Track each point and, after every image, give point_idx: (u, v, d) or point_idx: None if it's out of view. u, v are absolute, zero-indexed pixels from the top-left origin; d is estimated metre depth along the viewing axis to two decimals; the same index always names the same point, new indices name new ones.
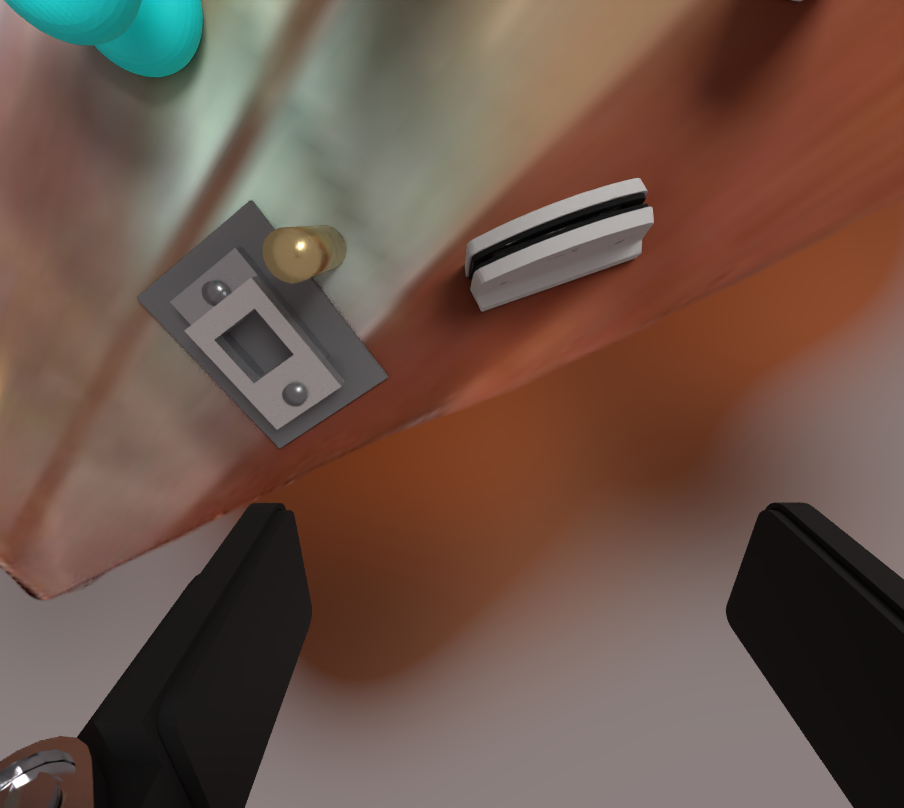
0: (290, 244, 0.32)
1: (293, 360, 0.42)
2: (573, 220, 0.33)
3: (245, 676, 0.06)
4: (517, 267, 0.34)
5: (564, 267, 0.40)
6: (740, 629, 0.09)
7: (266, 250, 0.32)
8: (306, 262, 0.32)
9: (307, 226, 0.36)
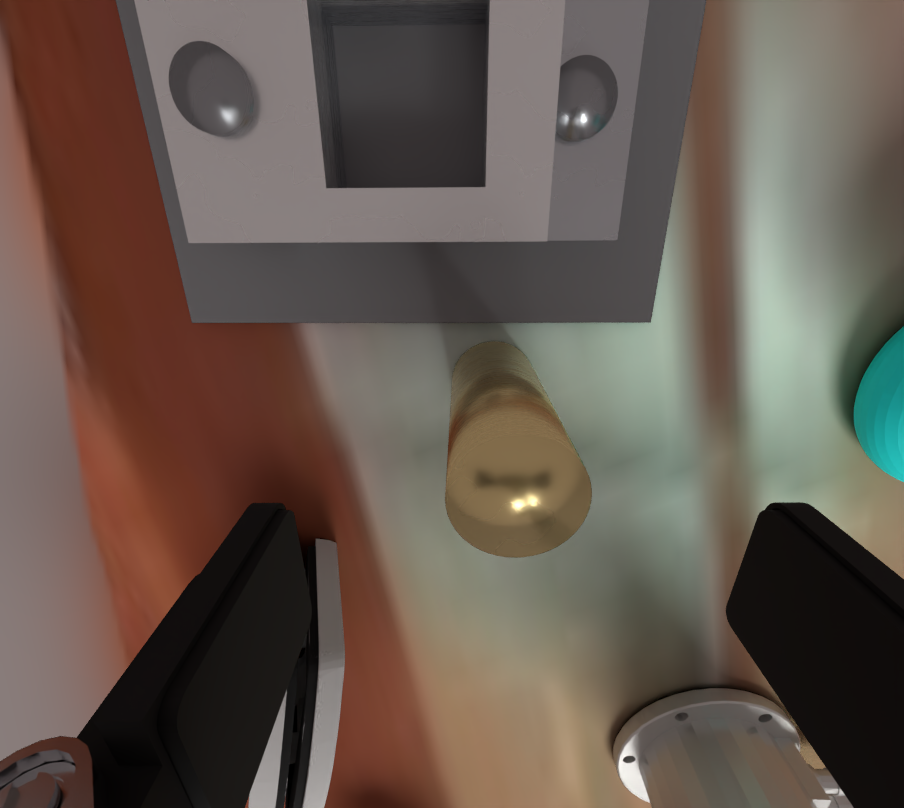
0: (537, 518, 0.12)
1: (312, 173, 0.14)
2: (293, 792, 0.21)
3: (245, 676, 0.06)
4: None
5: None
6: (740, 629, 0.09)
7: (567, 463, 0.11)
8: (478, 522, 0.12)
9: None
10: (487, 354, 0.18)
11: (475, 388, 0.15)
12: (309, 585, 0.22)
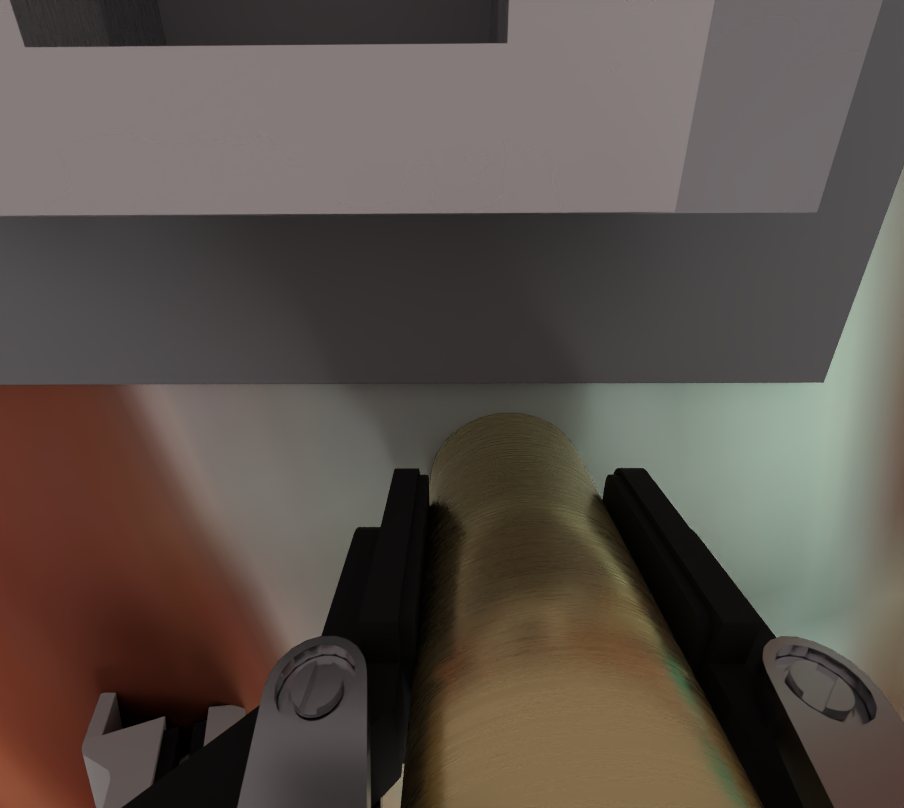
0: None
1: None
2: None
3: None
4: None
5: None
6: None
7: None
8: None
9: None
10: (500, 461, 0.08)
11: (478, 626, 0.05)
12: None
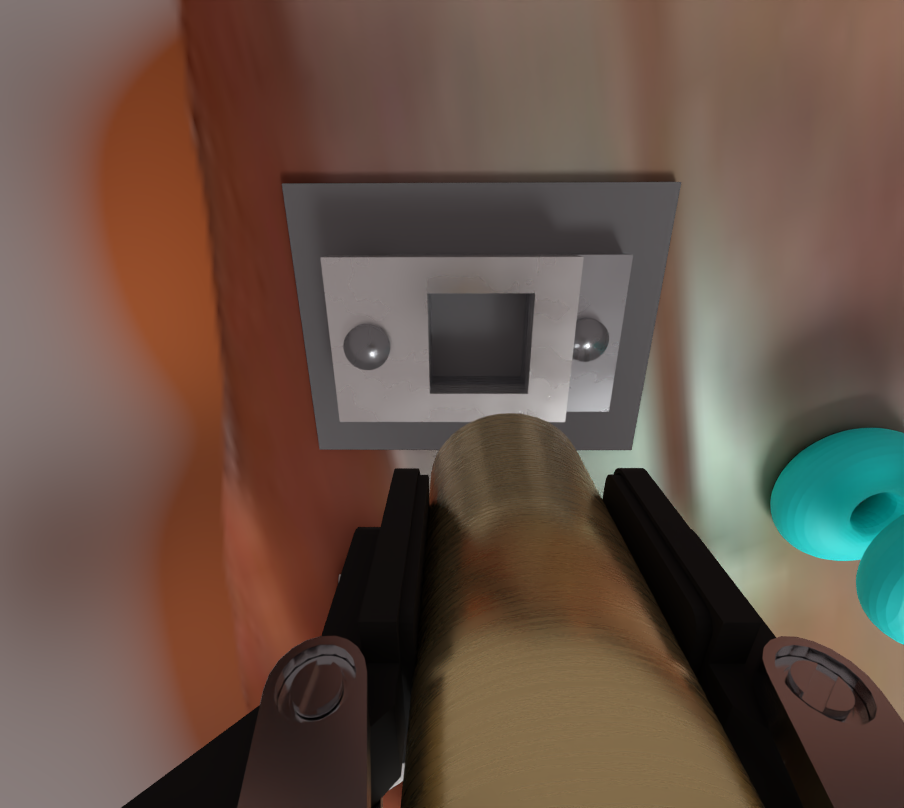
0: None
1: (422, 386, 0.24)
2: None
3: None
4: None
5: None
6: None
7: None
8: None
9: None
10: (500, 461, 0.08)
11: (479, 627, 0.05)
12: None
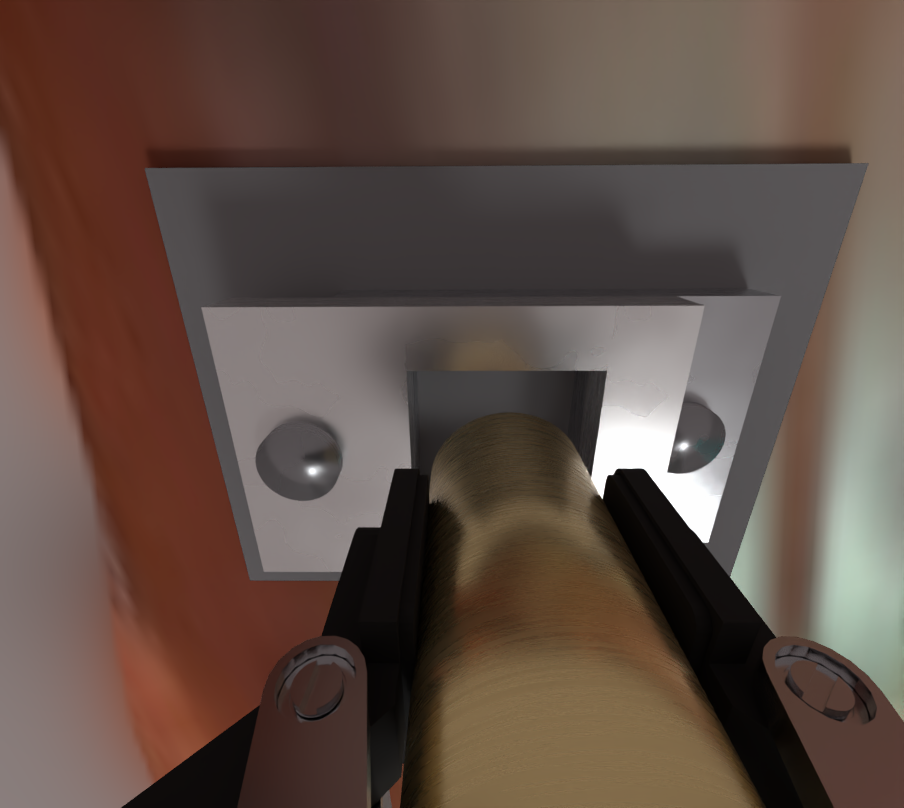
0: None
1: None
2: None
3: None
4: None
5: None
6: None
7: None
8: None
9: None
10: (501, 461, 0.08)
11: (479, 626, 0.05)
12: None
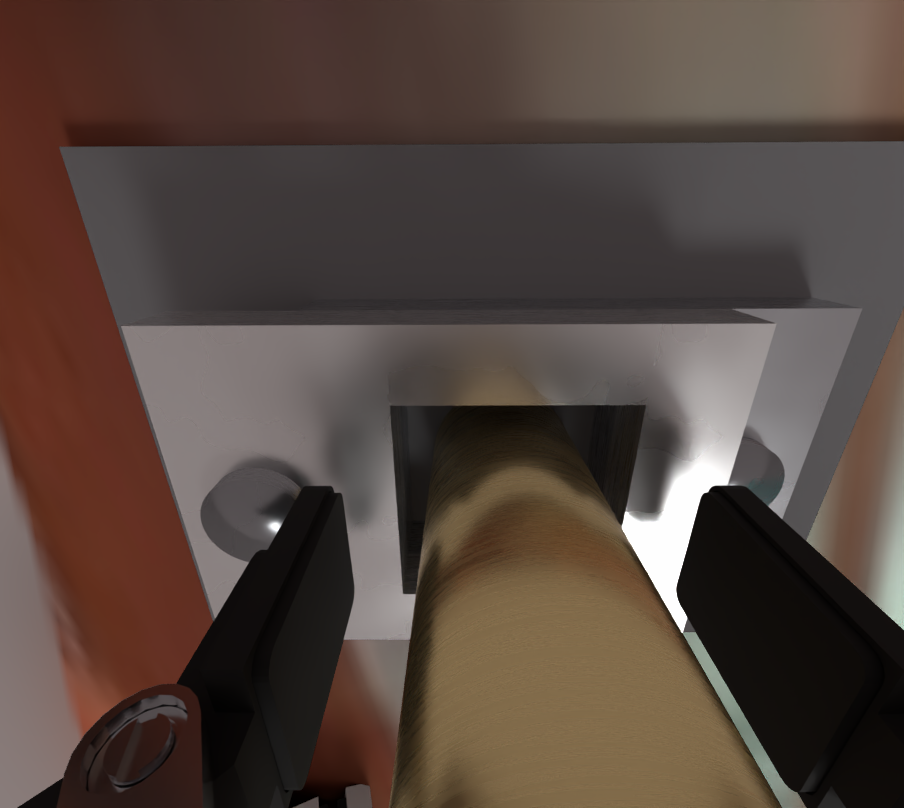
0: None
1: (386, 581, 0.11)
2: None
3: (311, 641, 0.07)
4: None
5: None
6: (687, 606, 0.09)
7: None
8: None
9: None
10: (493, 419, 0.10)
11: (471, 517, 0.07)
12: None
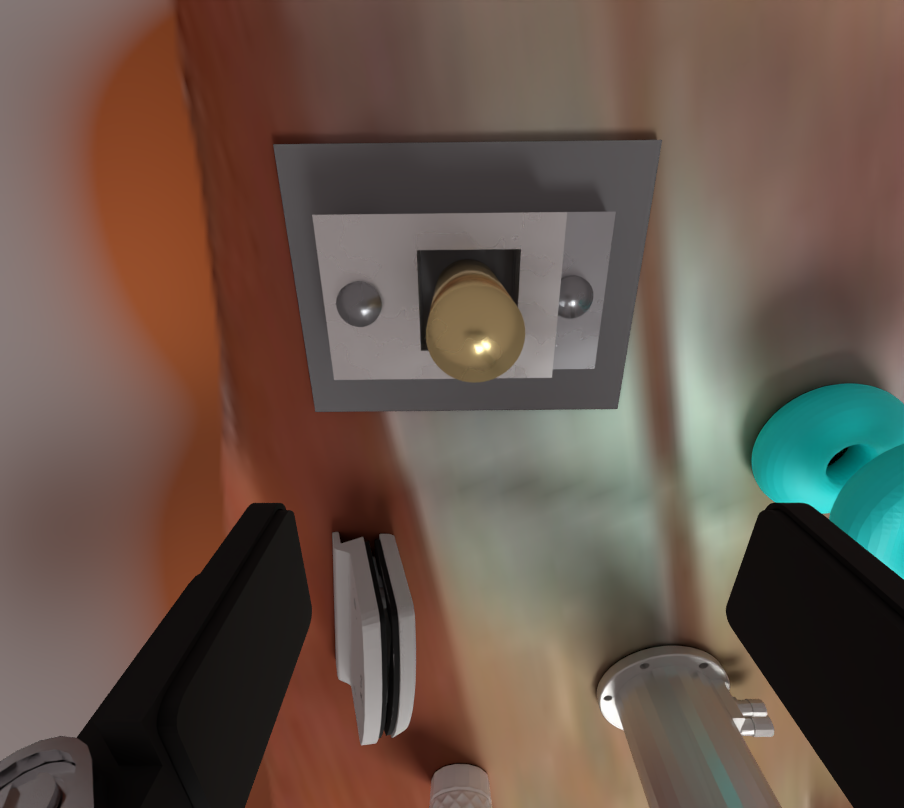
0: (489, 350, 0.17)
1: (413, 343, 0.24)
2: (391, 703, 0.31)
3: (245, 676, 0.06)
4: (364, 666, 0.29)
5: (349, 631, 0.36)
6: (740, 629, 0.09)
7: (507, 307, 0.17)
8: (448, 355, 0.17)
9: None
10: (460, 264, 0.23)
11: (449, 278, 0.20)
12: (381, 566, 0.32)
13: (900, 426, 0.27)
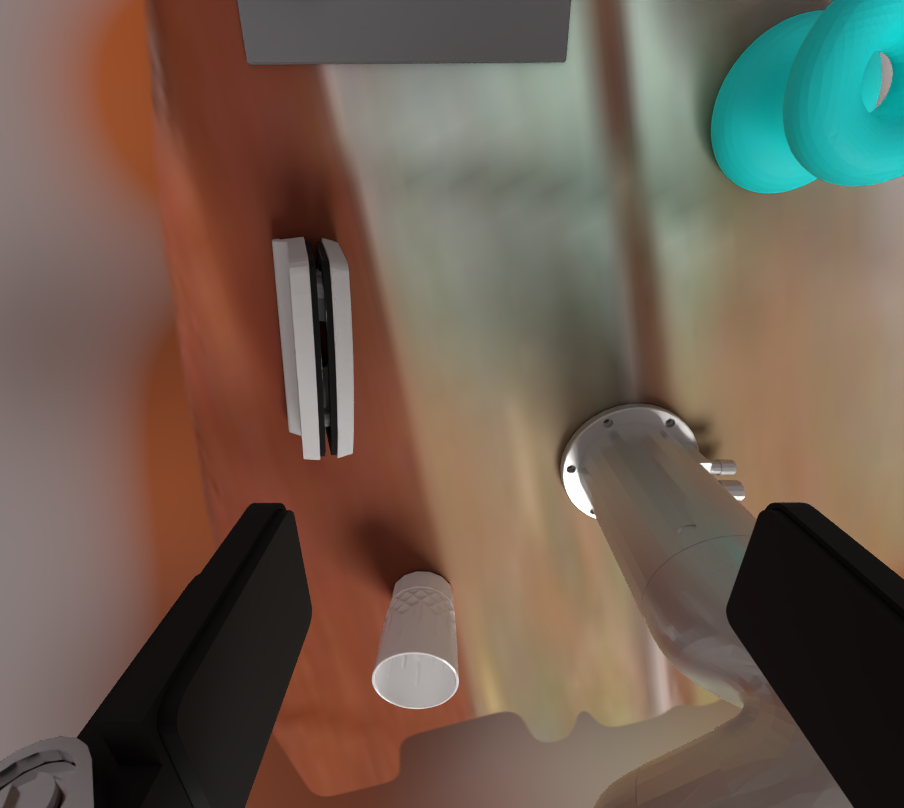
0: None
1: None
2: (329, 389, 0.29)
3: (245, 676, 0.06)
4: (293, 315, 0.27)
5: (295, 356, 0.34)
6: (740, 629, 0.09)
7: None
8: None
9: None
10: None
11: None
12: (319, 249, 0.30)
13: None
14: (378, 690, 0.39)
